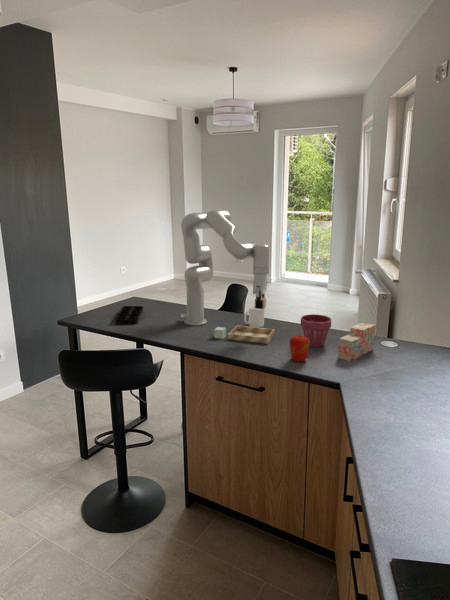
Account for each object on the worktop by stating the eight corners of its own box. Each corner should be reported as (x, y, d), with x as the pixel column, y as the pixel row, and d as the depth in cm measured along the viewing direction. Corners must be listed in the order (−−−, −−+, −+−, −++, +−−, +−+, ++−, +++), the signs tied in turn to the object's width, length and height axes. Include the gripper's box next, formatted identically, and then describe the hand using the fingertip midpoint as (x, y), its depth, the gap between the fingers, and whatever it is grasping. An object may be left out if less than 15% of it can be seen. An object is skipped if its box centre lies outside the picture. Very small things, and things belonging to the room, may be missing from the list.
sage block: (214, 338, 212) (214, 329, 211) (217, 335, 216) (217, 326, 215) (222, 339, 210) (223, 330, 209) (225, 336, 214) (225, 327, 213)
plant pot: (295, 345, 202) (297, 319, 199) (303, 337, 214) (305, 312, 211) (326, 350, 196) (328, 323, 193) (332, 341, 208) (334, 316, 205)
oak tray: (228, 339, 209) (228, 333, 208) (236, 330, 223) (236, 325, 222) (267, 344, 203) (268, 338, 202) (274, 334, 217) (274, 329, 216)
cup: (266, 326, 231) (267, 308, 229) (248, 329, 225) (249, 311, 223) (258, 322, 238) (258, 305, 236) (240, 325, 232) (240, 307, 230)
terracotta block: (254, 308, 207) (254, 299, 206) (256, 306, 211) (257, 297, 210) (263, 309, 206) (263, 300, 205) (265, 306, 210) (265, 298, 209)
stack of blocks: (350, 362, 182) (352, 334, 180) (337, 358, 187) (339, 331, 184) (373, 350, 197) (375, 324, 194) (360, 346, 202) (363, 321, 199)
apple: (297, 365, 178) (299, 338, 175) (284, 358, 185) (285, 332, 182) (312, 361, 183) (314, 335, 180) (299, 355, 189) (300, 329, 187)
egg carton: (142, 310, 262) (142, 304, 261) (148, 324, 234) (148, 317, 233) (113, 312, 257) (113, 306, 256) (115, 326, 229) (115, 320, 228)
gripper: (257, 267, 213) (257, 302, 217) (248, 272, 198) (248, 310, 202) (272, 268, 211) (271, 304, 215) (264, 273, 195) (263, 312, 199)
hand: (260, 306), depth 208 cm, fingers closed on terracotta block, 4 cm apart
